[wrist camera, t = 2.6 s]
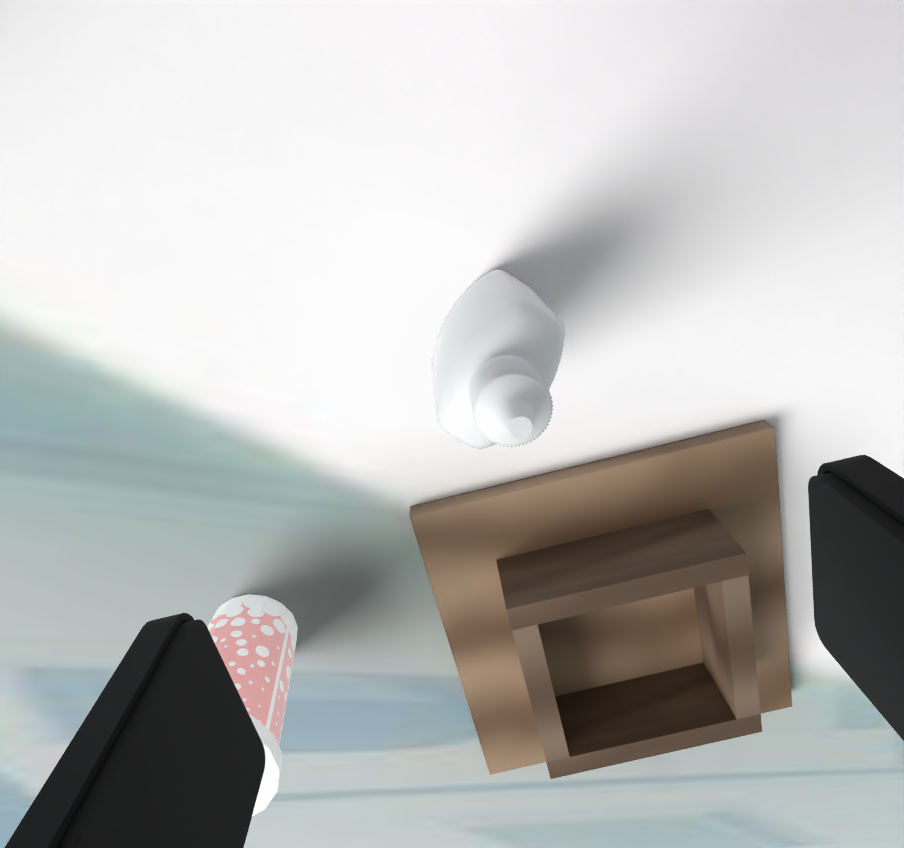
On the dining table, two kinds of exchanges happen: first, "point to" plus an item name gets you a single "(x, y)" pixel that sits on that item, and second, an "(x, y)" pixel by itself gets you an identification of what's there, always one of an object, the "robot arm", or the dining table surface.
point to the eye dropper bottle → (496, 363)
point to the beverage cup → (259, 670)
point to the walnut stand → (617, 602)
